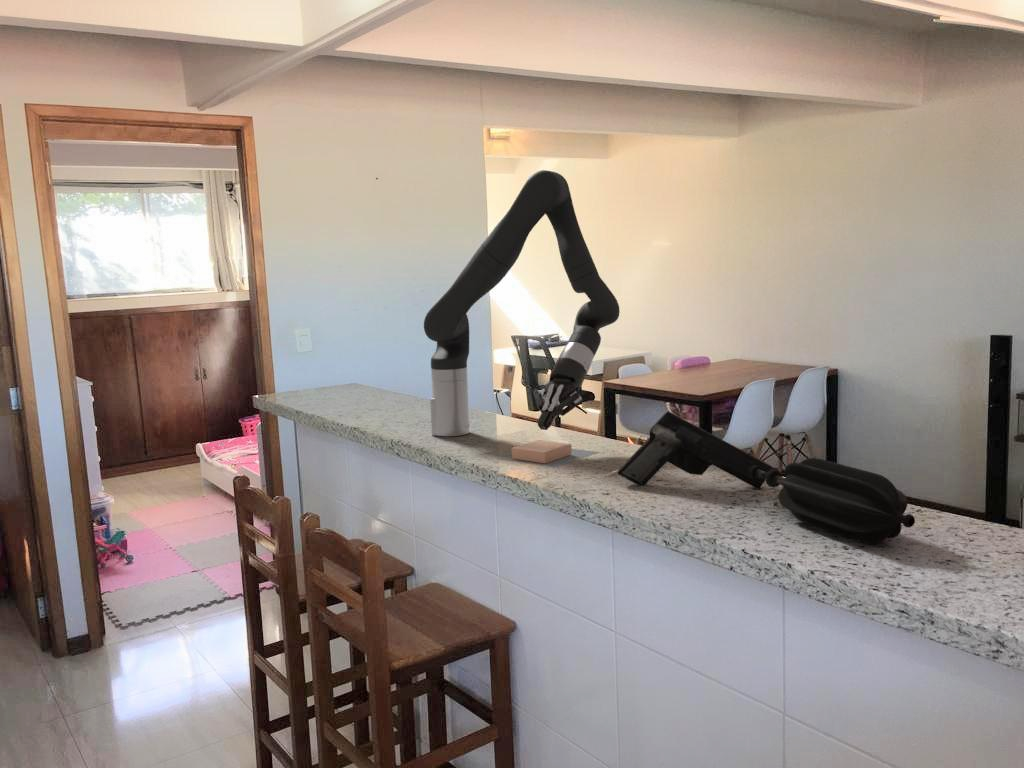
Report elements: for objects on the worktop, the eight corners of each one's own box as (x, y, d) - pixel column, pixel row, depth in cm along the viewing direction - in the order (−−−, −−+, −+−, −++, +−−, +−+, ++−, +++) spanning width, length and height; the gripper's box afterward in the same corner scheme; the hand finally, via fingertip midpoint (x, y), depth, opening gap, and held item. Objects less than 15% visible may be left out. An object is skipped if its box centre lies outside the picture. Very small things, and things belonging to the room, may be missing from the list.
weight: (936, 550, 119) (939, 482, 118) (883, 562, 115) (885, 491, 114) (775, 495, 150) (775, 440, 149) (729, 503, 146) (729, 447, 145)
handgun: (731, 536, 157) (772, 468, 154) (617, 473, 160) (654, 405, 156) (730, 532, 159) (771, 465, 156) (618, 470, 162) (655, 403, 159)
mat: (496, 459, 186) (496, 458, 186) (541, 446, 199) (541, 444, 199) (555, 468, 176) (555, 467, 176) (599, 453, 189) (598, 452, 189)
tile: (539, 450, 192) (512, 459, 184) (538, 439, 192) (511, 447, 184) (571, 455, 187) (545, 464, 179) (571, 443, 186) (544, 452, 179)
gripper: (541, 355, 194) (510, 415, 187) (589, 357, 186) (559, 420, 178) (555, 375, 199) (525, 434, 191) (603, 378, 191) (573, 440, 183)
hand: (542, 427), depth 185 cm, fingers closed
